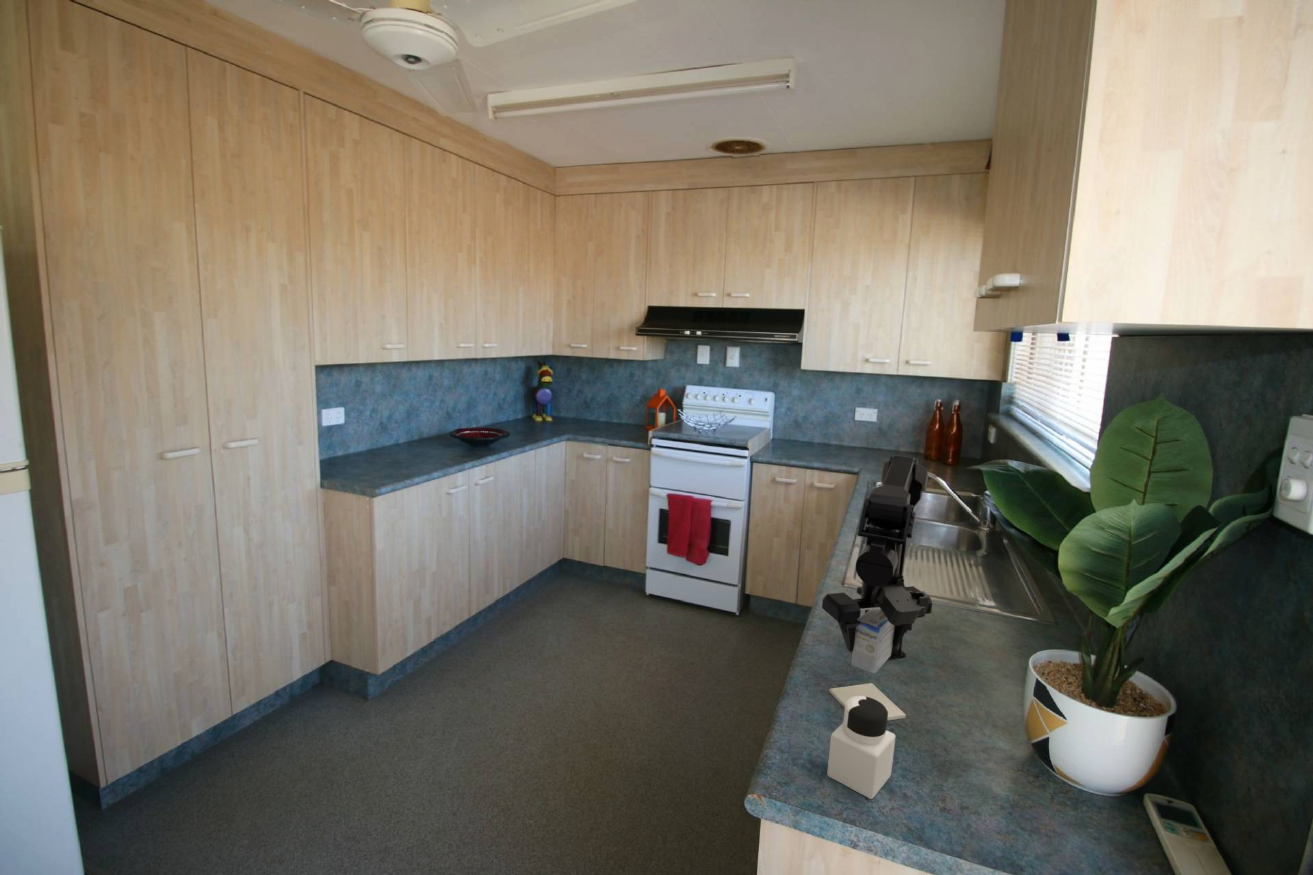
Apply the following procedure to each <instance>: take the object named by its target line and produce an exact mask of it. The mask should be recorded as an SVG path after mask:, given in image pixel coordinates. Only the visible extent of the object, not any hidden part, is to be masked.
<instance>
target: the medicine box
mask: <svg viewBox="0 0 1313 875" xmlns="http://www.w3.org/2000/svg"><path fill="white" fill-rule="evenodd" d="M857 620H858V621H860V622H861V624H859V625H858V626H857V627H856V633H855V643H854V648H853V652H851V662H850V664H851V665H852V667H856V668H857V669H858V668H859V669H860V670H862V671H865V672H869V673H871V674H872V675H873V674H876V673H877V672H878V671H879V669H880V668H881V667H882V666H883V665H884V664H885V663H886V662H887V661H888V660H889V659H888V658H889V657H890V656H891V651H892V644H893V636H894V628H895V625H892V624H891V623H890V622H889V621H888V619H887V617H886V615H885V614H884V613H883V611H882V610H881V609H870V610H868V611H867V612H866V613H865V612H864V613H863V614H862V615H860V617H859V618H858V619H857Z"/></svg>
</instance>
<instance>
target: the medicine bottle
mask: <svg viewBox="0 0 1313 875" xmlns="http://www.w3.org/2000/svg"><path fill="white" fill-rule="evenodd" d="M887 718H888V711H887V709H886V708H885V706H884V705H883V704H882V703H880V702H879V701H877V700H875V699H873V698H870V697H865V696H855V697H851V698H850V699H848V700H847V701H846V703H845V708H844V714H843V722H842V723H841V724H840V725H839V726H838V727H837V728H836V729H835V730H834V731H833V732H832V733H831V734H830V743H829V752H828V764H827V773H826V774H827V776H828V777H829V778H830V779H833V780H834V781H835V782H838V783H839V784H842V785H844V786H845V787H847V788H849V789H851V790H853V791H855V792H857V793H858V794H861V795H862V796H864V797H866V798H867V799H870V800H872V799H874V798H875V796H876V795H877V793H878V792H879V791H880V790H881V789H882V788H883V786H884V784H886V782H887V781H888V780H889V779H890V777H891V776H892V769H893V768H892V767H893V762H894V761H893V760H894V753H895V745H896V734H895V733H893V732H891V731H889V730H887V724H888V721H887Z"/></svg>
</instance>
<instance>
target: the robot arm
mask: <svg viewBox="0 0 1313 875" xmlns="http://www.w3.org/2000/svg"><path fill="white" fill-rule="evenodd" d="M928 471H929V469H928V468H927V467H925V466H924V465H922V464H921V463H919V459H918V458H915V457H914V456H909V455H907V456H906V455H899V454H894V455H890V457H889V460H888V461H886V462H884V463H883V467H882V474H881V478H880V480H881V484H882V485H881V486H877V487H874V488H873V489H872V490H871V492H870V494H869V496H868V497H866V498H865V499H864V502H863V508H862V512H861V516H860V523H859V527H858V532H857V537H862V538H866V544H865V546H864V547H863V549H862V550H861V552H860V554H859V556H858V558H857V560H856V562H855V571H856V574H857V576H858V577H859V579H860V580H861V581H862V583H861V586H858V587H856V588H857V589H856V593H857V594H858V595H859V596H860V598H852V597H850V596H849V595H848V594H847V593H845V592H836V593H835V592H834V593H826V594H825V595H824V596H823V598H822V604H821V609H822V610H824V611H825V612H826V613H827V614H828V615H830V617H832V618H833V619H834V620H835V621H836V622H837V624H838V626H839V628H840V631H841V635H842V638H843V640H844V644H845V646H846V649H847V650H848V652H850V653H852V652H853V648H854V643H855V633H856V627H857V626H858V625H859V624H861V622H860V621H858V619H859V618H860V617H861V613H862V612H861V611H864V614H865V613H866V612H867V611H868V610H870V609H881V610H882V611H883V613H884V614H885V615H886V617H887V619H888V621H889V622H890V623H891V624H892V625H895V628H894V636H893V644H892V651H891V656H890V657H889V658H888V659H887V660H889V659H890V660H891V659H898V658H900V659H901V658H906V657H907V653H906V652H904V651H903V650H902V648H903V647H902V646H903V639H904V635H906V634H907V633H908V632H909V631H912V628H913V625H914V624H915V622H916V621H917V620H918V619H923V618H924V617H925V616H926V615H929V614H932V611H933V605H934V604H933V600H932V598H931V597H930V595H927V594H928V593H926V592H925V591H922V590H920V589H918V588H917V587H915V586H913V585H911V586H906V585H905V579H904V571H905V564H906V563H905V562H906V556H907V555H906V554H907V547H908V541H909V539H912V538H913V532H914V527H915V521H916V515H917V512H916V511H915V510H914V509H915V507H916V506H917V505H918V504H919V502H921V500H922V497H923V493H926V491H927V489H928V488H927V487H928V480H929V472H928ZM866 525H867V526H866Z"/></svg>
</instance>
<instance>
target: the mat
mask: <svg viewBox="0 0 1313 875" xmlns="http://www.w3.org/2000/svg"><path fill="white" fill-rule="evenodd" d="M829 693H830V694H831V695H832V696H833V697H834V698H835V699H836V700H837V701H838V703H839V704H840V705H841V706H842V707H843V708H844V709H845V703H846V701H847V700H848V699H850V698H851V697H855V696H865V697H870V698H873V699H875V700H877V701H879V702H880V703H882V704H883V705H884V706H885V708H886V709H887V711H888V718H887V722H888V721H893V720H899V719H906V717H907V714H905V712H904V711H902V710H901V709H900V708H899V707H898V706H897V705H896V704H895V703H894V702H892V701H891V700H890V698H889V697H888V696H886V695H885V694H884V693H883V692H882V691H881V690H880V689H879V688H878V687H876V686H875V684H873V683H872V682H870V683H863V684H862V683H861V684H856V685H854V684H853V685H849V686H840V687H834V688H829Z"/></svg>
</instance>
